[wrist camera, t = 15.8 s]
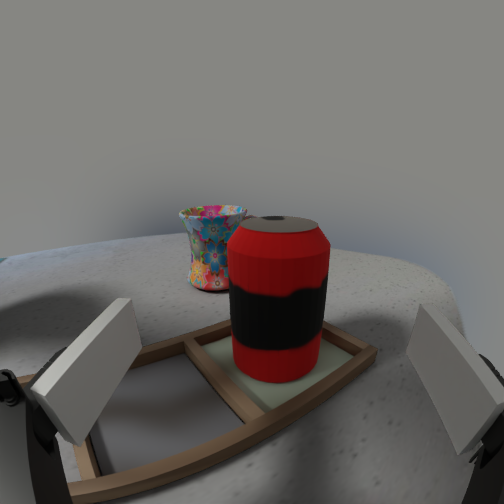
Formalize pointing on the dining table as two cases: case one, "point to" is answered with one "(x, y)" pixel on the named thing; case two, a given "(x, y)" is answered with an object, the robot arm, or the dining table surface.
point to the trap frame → (198, 410)
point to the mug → (211, 243)
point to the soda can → (277, 296)
